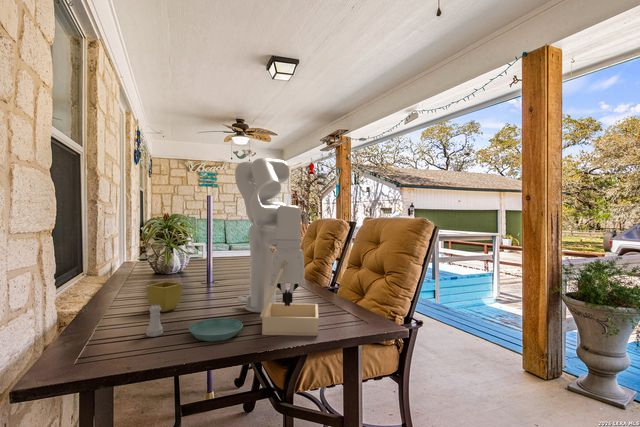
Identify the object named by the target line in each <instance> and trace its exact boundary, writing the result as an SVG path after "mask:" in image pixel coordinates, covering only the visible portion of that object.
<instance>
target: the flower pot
mask: <svg viewBox="0 0 640 427" xmlns="http://www.w3.org/2000/svg"><path fill="white" fill-rule="evenodd" d="M183 285H184V283H181V282H170V281H162V282H161V281H160V282H156V283H152V284H148V285H146V286H145V287H146V295H147V300H148V304H149V306H152V305H153V307H154V306H155V305H156V306H158V305H160V307H161V308H162V309H161V311H160V312H162V313H163V312H164V313H165V312H169V311H172V310H174V309H176V308H177V306H178V305H179V303H180V302H181V299H182V293H183V289H184V288H183Z"/></svg>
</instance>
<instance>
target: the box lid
mask: <svg viewBox="0 0 640 427" xmlns="http://www.w3.org/2000/svg"><path fill="white" fill-rule="evenodd" d="M286 263H287V261H284V262H283V264H282V266H281V269H280V272H279V274H278V276H277V278H276V281H275V283H274V285H273V288H272V290H271V292H270V294H269V297H268V299H267V301H266V303H265V306H264V308H263V310H262V313H260V316H259V317H260V318H263V315H264V313H265V311H266V309H267V307H268V305H269V303H270V301H271V299H272V297H273V294H274V292H275V290H276V291H277V287H276V286H277V284H278V282H279V279H280V277H281V275H282V272H283V270H284V268H285V266H286Z"/></svg>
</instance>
